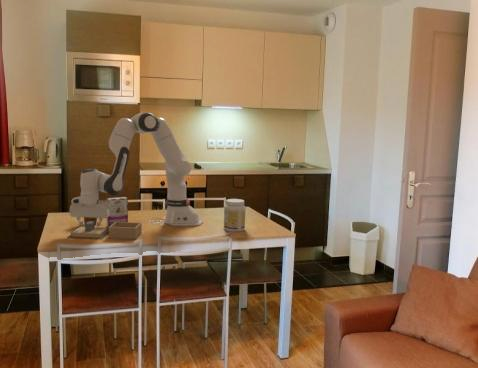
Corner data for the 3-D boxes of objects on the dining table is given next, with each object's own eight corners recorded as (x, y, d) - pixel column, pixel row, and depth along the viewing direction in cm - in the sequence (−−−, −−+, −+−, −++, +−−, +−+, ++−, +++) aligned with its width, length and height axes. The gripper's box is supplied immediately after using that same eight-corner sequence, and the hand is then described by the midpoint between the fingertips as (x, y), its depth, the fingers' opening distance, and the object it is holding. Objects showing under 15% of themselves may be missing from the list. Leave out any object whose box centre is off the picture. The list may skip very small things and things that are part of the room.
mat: (111, 231, 265) (111, 230, 265) (101, 239, 250) (101, 238, 249) (78, 229, 266) (78, 229, 266) (67, 237, 250) (67, 236, 250)
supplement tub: (237, 226, 287) (238, 197, 284) (249, 230, 277) (250, 201, 274) (219, 228, 280) (220, 199, 278) (230, 233, 270) (231, 203, 268)
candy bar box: (125, 224, 281) (125, 196, 278) (128, 226, 277) (128, 198, 274) (106, 226, 276) (106, 197, 273) (108, 228, 271) (108, 199, 269)
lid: (108, 231, 264) (108, 220, 263) (100, 237, 251) (100, 226, 250) (80, 230, 265) (80, 219, 264) (70, 236, 251) (70, 225, 250)
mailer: (141, 233, 263) (141, 222, 262) (135, 239, 251) (135, 228, 250) (115, 232, 263) (115, 221, 262) (108, 238, 251) (108, 226, 250)
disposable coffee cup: (102, 224, 279) (102, 204, 277) (87, 227, 272) (87, 206, 270) (93, 221, 285) (93, 201, 284) (78, 224, 278) (78, 203, 277)
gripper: (111, 199, 258) (111, 224, 260) (72, 197, 258) (73, 223, 261) (107, 201, 251) (107, 227, 254) (68, 200, 252) (68, 226, 254)
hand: (89, 225), depth 257 cm, fingers open, 8 cm apart
